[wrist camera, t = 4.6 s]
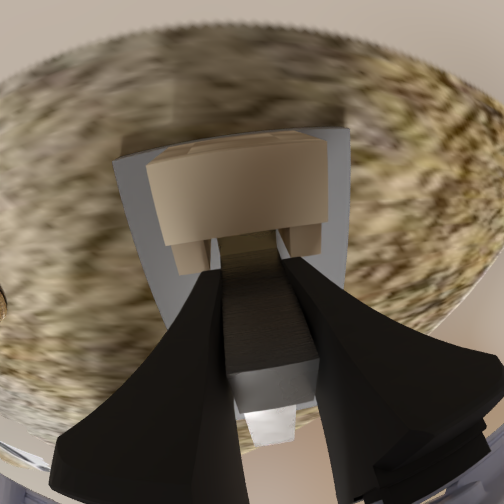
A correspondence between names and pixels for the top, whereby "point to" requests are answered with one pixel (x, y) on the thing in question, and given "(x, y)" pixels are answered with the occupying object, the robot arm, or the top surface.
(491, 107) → the top surface
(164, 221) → the socket block
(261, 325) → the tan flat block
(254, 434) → the outer sleeve
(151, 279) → the base board
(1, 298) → the sprinkles bottle
